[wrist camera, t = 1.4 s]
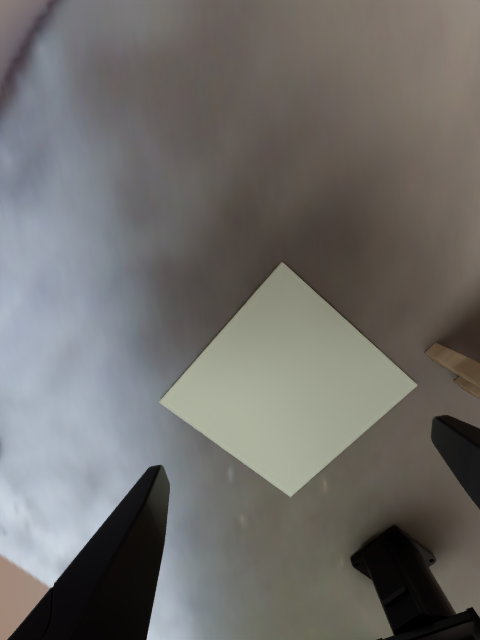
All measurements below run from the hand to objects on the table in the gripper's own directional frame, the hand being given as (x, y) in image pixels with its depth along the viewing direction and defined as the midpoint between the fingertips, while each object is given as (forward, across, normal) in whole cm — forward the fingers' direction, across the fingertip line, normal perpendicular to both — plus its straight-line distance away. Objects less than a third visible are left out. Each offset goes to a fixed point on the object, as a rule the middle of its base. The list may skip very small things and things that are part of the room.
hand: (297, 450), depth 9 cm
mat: (+13, -2, +7) cm, 15 cm away
